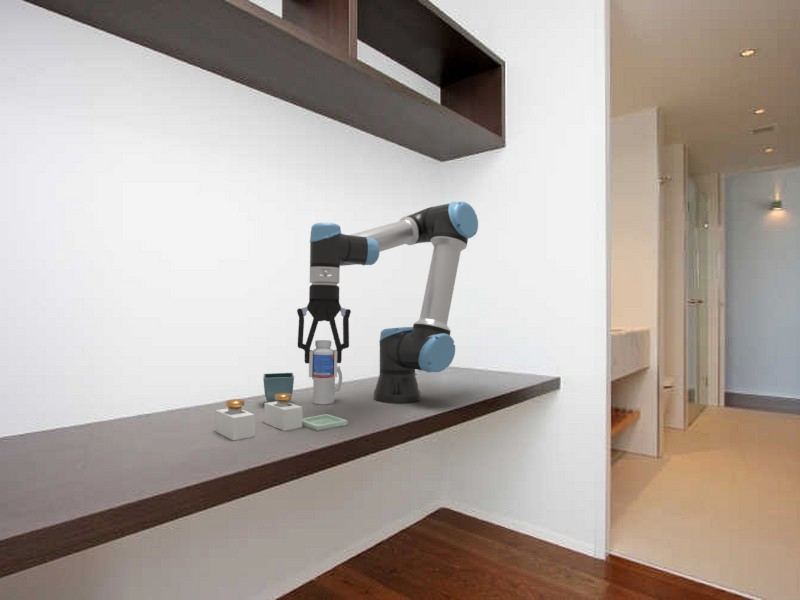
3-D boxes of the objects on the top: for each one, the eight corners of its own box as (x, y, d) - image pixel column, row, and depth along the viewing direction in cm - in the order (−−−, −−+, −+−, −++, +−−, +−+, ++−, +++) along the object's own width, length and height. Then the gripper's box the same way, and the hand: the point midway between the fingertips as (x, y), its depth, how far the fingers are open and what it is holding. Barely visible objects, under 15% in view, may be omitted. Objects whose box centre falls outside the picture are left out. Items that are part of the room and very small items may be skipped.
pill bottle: (335, 380, 117) (336, 341, 117) (314, 381, 115) (315, 341, 115) (330, 377, 122) (331, 339, 122) (309, 378, 120) (310, 339, 120)
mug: (320, 405, 140) (320, 365, 140) (308, 402, 145) (309, 363, 145) (347, 401, 147) (348, 363, 147) (335, 398, 152) (336, 361, 152)
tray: (327, 418, 125) (327, 413, 125) (347, 425, 118) (347, 420, 118) (297, 424, 119) (297, 419, 119) (317, 431, 112) (317, 426, 112)
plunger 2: (286, 419, 120) (286, 392, 120) (294, 422, 117) (294, 394, 117) (271, 422, 118) (272, 394, 118) (279, 425, 115) (280, 396, 115)
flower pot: (262, 408, 135) (263, 377, 135) (263, 402, 144) (263, 373, 144) (293, 407, 138) (294, 376, 138) (292, 401, 146) (292, 372, 146)
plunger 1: (239, 428, 112) (239, 398, 112) (246, 431, 109) (247, 401, 109) (222, 430, 109) (223, 400, 109) (229, 434, 106) (230, 403, 106)
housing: (281, 419, 123) (282, 400, 123) (302, 427, 116) (302, 407, 116) (215, 431, 111) (215, 410, 111) (233, 440, 103) (233, 417, 104)
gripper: (287, 282, 113) (285, 379, 113) (362, 285, 117) (361, 377, 117) (287, 284, 120) (285, 374, 120) (358, 286, 125) (356, 373, 124)
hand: (322, 376), depth 118 cm, fingers closed on pill bottle, 5 cm apart
